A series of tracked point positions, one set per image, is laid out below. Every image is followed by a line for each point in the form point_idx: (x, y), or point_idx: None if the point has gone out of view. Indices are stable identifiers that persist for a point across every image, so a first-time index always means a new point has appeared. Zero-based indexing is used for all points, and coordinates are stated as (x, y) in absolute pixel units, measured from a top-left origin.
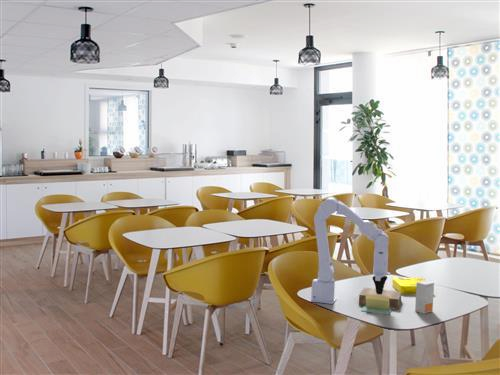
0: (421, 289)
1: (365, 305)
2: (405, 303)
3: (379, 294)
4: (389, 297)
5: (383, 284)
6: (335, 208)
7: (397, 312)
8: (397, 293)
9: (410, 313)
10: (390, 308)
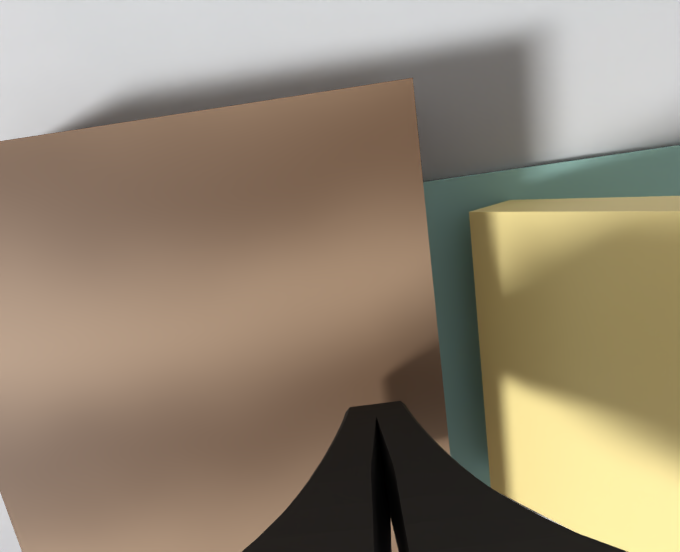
0: None
1: (486, 478)
2: (75, 72)
3: (292, 438)
4: (377, 258)
5: (520, 512)
6: None
7: (552, 69)
8: (39, 198)
9: None
10: (459, 191)
